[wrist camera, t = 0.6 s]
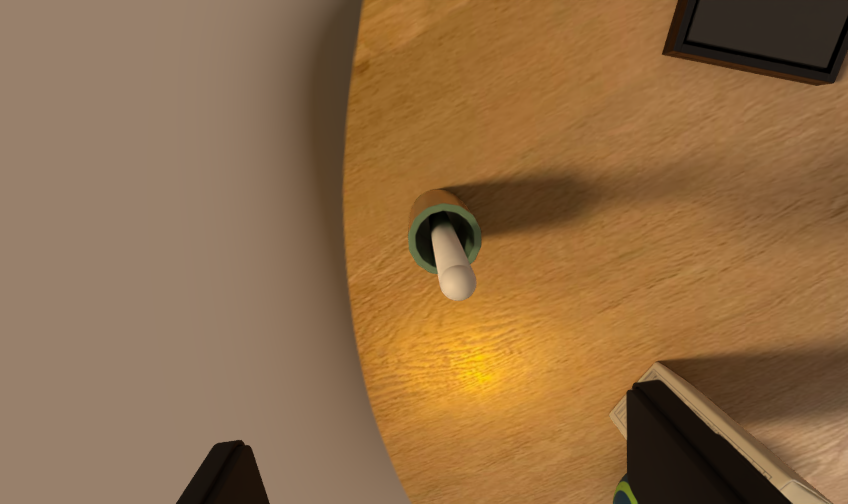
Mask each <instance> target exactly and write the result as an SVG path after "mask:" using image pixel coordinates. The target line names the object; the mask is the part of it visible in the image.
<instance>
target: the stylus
mask: <svg viewBox="0 0 848 504" xmlns="http://www.w3.org/2000/svg"><path fill="white" fill-rule="evenodd" d="M429 226H430V232H431V237H432V243H433V249H434V254H435V260H436V266H437V271H438V277H439V283H440V287H441V290H442V292H443V294H444V295H445V296H446V297H448V298H449V299H452V300H455V301H461V300H465V299H467V298H469V297H470V296H471V295H472V294H473V292H474V290H475V288H476V277H475V274H474V272H473V270H472V268H471V266H470V263H469V261H468V259H467V257H466V255H465V252H464V250H463V248H462V246H461V243H460V241H459V239H458V237H457V235H456V232H455V230H454V228H453V226H452V224H451V221H450V219H449V217H448V215H447V214H446V213H445V212H444V211H440V212H437V213H433V214H431V215H430V216H429Z"/></svg>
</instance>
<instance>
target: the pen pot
mask: <svg viewBox="0 0 848 504" xmlns="http://www.w3.org/2000/svg"><path fill="white" fill-rule="evenodd" d="M440 211H444V212H445V213H446V214H447V215H448V217H449V219H450V221H451V224H452V226H453V228H454V230H455V232H456V235H457V237H458V239H459V241H460V243H461V246H462V248H463V250H464V252H465V255H466V257H467V259H468V261H469V263H470V264H471V263H472V262H474V260H475V259H476V257H477V254H478V252H479V250H480V248H481V229H480V227H479V225H478V223H477V221H476V219H475V217H474V216H473V214H472V213H471V212H470V211H469V209H468V208H467V207H466V206H465V204H464V203H463V202H462V201H461V199H460V198H458V197H457V196H456V195H454V194H453V193H451V192H449V191H447V190H442V189H435V190H430V191H427V192H425V193H423V194H422V195H420V196H419V197H418V198H417V199H416V201H415V202H414V204H413V206H412V208H411V211H410V215H409V228H408V242H409V251H410V253H411V254H412V256H413V258H414V260H415V261H416V263H417V264H418V265H419V266H421V267H422V268H424V269H425V270H427V271H428V272H430V273H433V274H438V271H437V266H436V260H435V254H434V249H433V243H432V237H431V232H430V226H429V216H430V215H431V214H433V213H437V212H440Z"/></svg>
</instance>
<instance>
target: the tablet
mask: <svg viewBox="0 0 848 504" xmlns="http://www.w3.org/2000/svg"><path fill="white" fill-rule="evenodd" d="M697 2H698V0H678V3H677V6H676V9H675V13H674V16H673V19H672V23H671V26H670V29H669V33H668V36H667V39H666V43H665V46H664V49H663V53H662V55H667V56H672V57H676V58H681V59H686V60H691V61H696V62H701V63H706V64H711V65H716V66H721V67H726V68H731V69H736V70H741V71H746V72H751V73H756V74H761V75H766V76H771V77H776V78H781V79H786V80H791V81H795V82H800V83H805V84H810V85H815V86H818V85H825V84H832V83H834V82H835V80H836V77H837V75H838V72H839V70H840V68H841V65H842V63H843V60H844V58H845V55H846V53H847V50H848V16H847V18H846V21H845V23H844V26H843V28H842V31H841V33H840V36H839V38H838V41H837V43H836V46H835V48H834V51H833V53H832V56H831V58H830V61H829V63H828V66H827V68H823V69H822V68H817V67H812V66H807V65H802V64H797V63H792V62H787V61H782V60H778V59H773V58H768V57H763V56H758V55H753V54H748V53H743V52H739V51H734V50H729V49H724V48H719V47H714V46H709V45H704V44H700V43H695V42H690V41H686V37H687V34H688V31H689V28H690V25H691V21H692V18H693V15H694V12H695V9H696V5H697Z"/></svg>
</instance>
